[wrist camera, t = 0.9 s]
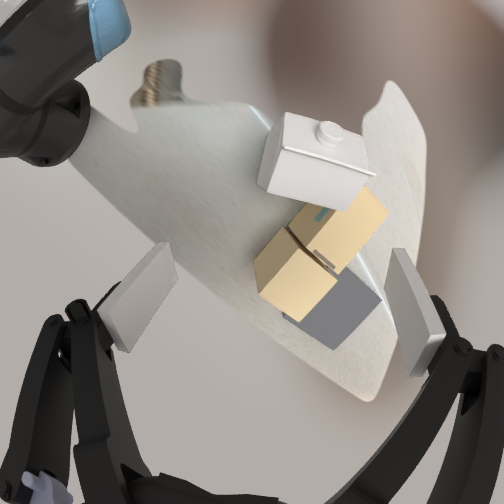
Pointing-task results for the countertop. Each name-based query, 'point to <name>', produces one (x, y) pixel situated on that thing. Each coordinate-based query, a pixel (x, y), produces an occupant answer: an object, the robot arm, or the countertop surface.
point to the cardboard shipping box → (338, 228)
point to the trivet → (338, 310)
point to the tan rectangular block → (291, 275)
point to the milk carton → (314, 162)
